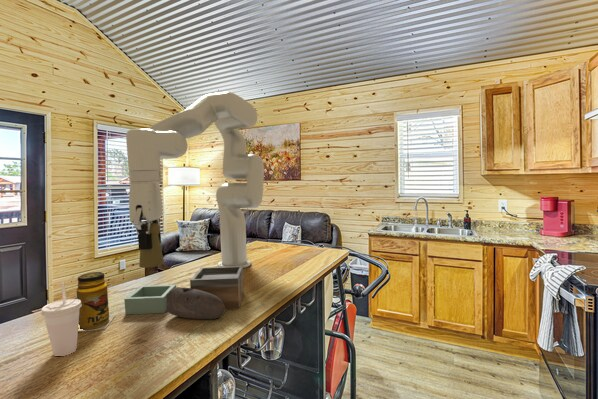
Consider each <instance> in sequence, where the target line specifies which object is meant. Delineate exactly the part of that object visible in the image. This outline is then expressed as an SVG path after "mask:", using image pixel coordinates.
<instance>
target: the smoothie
mask: <svg viewBox="0 0 598 399" xmlns="http://www.w3.org/2000/svg"><path fill="white" fill-rule="evenodd" d="M60 283H61V294H62V296H61V297H62V299H59V300H57V301H53V302H50V303H48V304H46V305H44V306H43V307H42V308H41V309H40V310H41V311H40V312H41V313H40V315H41V316H43V317H44V318H43V319H44V323H45V326H46V330H47V334H48V338H49V342H50V347H51V350H52V354H54V355H55V356H64V357H66V356H65V355H67V356H69V355H68V354H70V355H72V354H74V353H75V352H76V351H77V350H78V349H77V348H78V337H79V335H78V333H79V332H78V324H79V310H80V307H81V306H82V305H81V300H79V299H77V298H67V294H66V282H65V281H61V282H60ZM76 349H77V350H76ZM73 352H74V353H73ZM71 353H72V354H71ZM54 355H53V356H54Z"/></svg>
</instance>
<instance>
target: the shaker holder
mask: <svg viewBox="0 0 598 399" xmlns="http://www.w3.org/2000/svg"><path fill="white" fill-rule="evenodd" d="M176 287H177V284H155V285H140V286H139V287H138V288H136V289H135V290H134V291H133V292H131V293H130V294H129V295H128V296H126V297H125V298H124V315H145V314H147V315H148V314H164V313H166V311H168V310H167V307H166V295H167V293H168V292H169V291H170V290H171V289H173V288H176Z"/></svg>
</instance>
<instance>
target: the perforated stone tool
mask: <svg viewBox="0 0 598 399" xmlns="http://www.w3.org/2000/svg"><path fill="white" fill-rule="evenodd" d="M166 307H167V310H166V311H167V312H168V314H171V315H172V316H175V317H180V318H184V319H191V320H192V319H194V320H214V319H218V318H221V317H222V316H223V315H224V314H225V313H226V310H225V306H224V304H223V302H222V300H221V299H220V298H218V297H217V296H215V295H213V294H211V293H208V292H205V291H201V290H197V289H192V288H190V287H182V286H181V287H179V286H176V288H173V289H171V290H170V291H169V292H168V293H167V295H166Z"/></svg>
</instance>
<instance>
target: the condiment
mask: <svg viewBox="0 0 598 399" xmlns="http://www.w3.org/2000/svg"><path fill="white" fill-rule="evenodd" d="M77 281H78V282H77V288H76V299H79V300H81V305H82V306H81V307H80V310H79V325H80V329H83V330H88V331H87V332H91V331H93V332H94V331H98V330H99V331H100V330H105V329H106V328H107V327H108V326H109V325H110V324H111V322H112V321H113V319H114V318H115V317H116V314H113V315H110V309H109V297H108V296H109V295H108V284H107V283H106V278H105V274H104V272H102V271H101V272H100V271H95V272H94V271H92V272H87V273H84V274H80V275H79V276H78V277H77ZM79 332H80V333H81V332H83V331H78V333H79Z"/></svg>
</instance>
